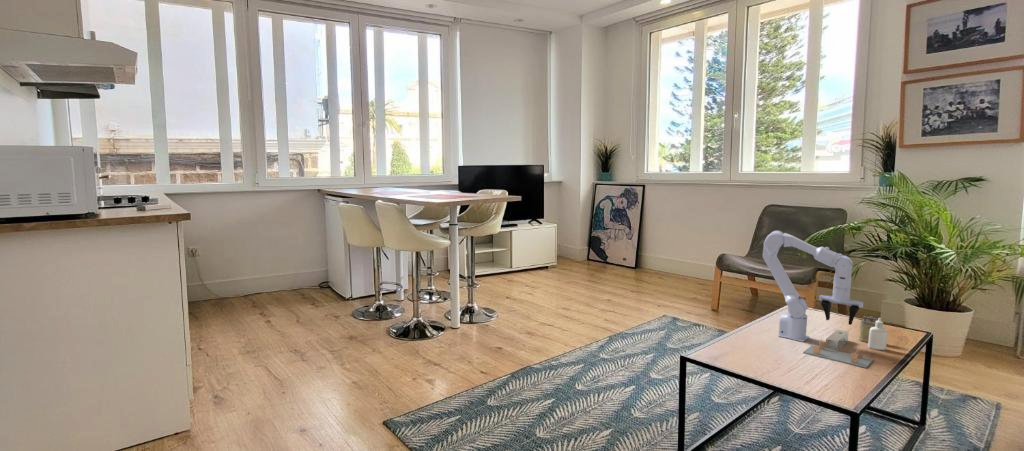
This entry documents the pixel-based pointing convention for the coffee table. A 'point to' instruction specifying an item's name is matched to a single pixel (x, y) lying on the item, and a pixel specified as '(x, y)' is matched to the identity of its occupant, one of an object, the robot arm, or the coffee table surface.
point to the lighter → (866, 328)
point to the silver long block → (837, 340)
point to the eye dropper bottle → (878, 336)
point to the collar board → (839, 355)
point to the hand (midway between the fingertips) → (838, 321)
